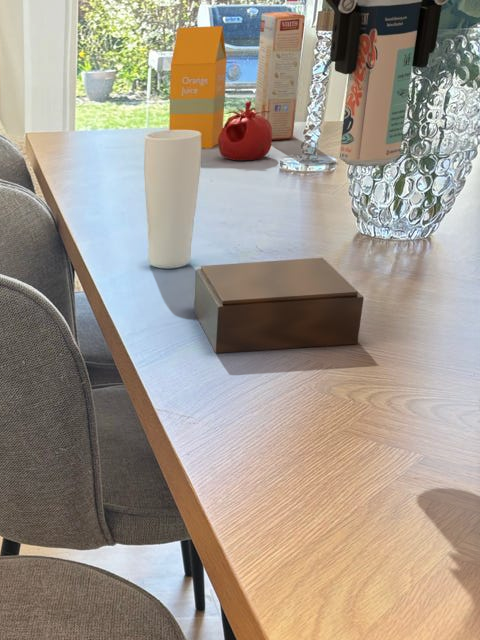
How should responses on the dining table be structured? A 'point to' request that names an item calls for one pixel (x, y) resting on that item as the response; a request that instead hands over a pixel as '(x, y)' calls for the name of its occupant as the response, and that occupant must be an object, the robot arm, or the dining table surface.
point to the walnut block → (276, 305)
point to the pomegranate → (245, 135)
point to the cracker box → (279, 70)
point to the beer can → (379, 82)
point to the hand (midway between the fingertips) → (380, 66)
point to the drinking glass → (171, 194)
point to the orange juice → (198, 82)
